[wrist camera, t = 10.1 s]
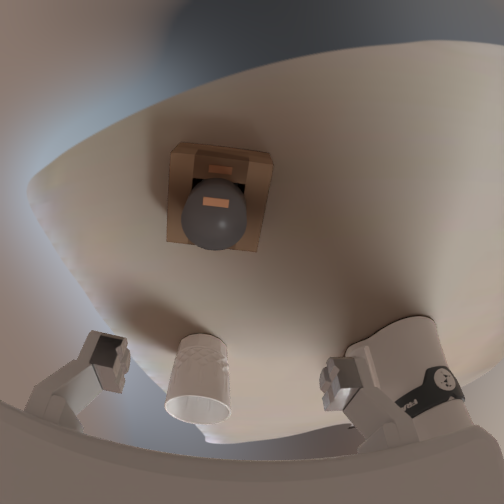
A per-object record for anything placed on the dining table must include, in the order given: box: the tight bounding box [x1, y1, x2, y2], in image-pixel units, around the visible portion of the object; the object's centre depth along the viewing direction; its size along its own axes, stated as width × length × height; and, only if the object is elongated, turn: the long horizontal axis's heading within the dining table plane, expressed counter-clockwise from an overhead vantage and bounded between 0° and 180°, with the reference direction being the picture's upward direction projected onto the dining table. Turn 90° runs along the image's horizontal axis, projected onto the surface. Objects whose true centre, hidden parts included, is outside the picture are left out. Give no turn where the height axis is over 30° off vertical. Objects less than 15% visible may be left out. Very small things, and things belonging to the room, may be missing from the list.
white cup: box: [164, 333, 231, 425], centre depth 35 cm, size 8×8×10 cm
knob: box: [181, 178, 247, 250], centre depth 24 cm, size 5×5×6 cm
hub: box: [167, 142, 274, 252], centre depth 26 cm, size 8×8×4 cm
